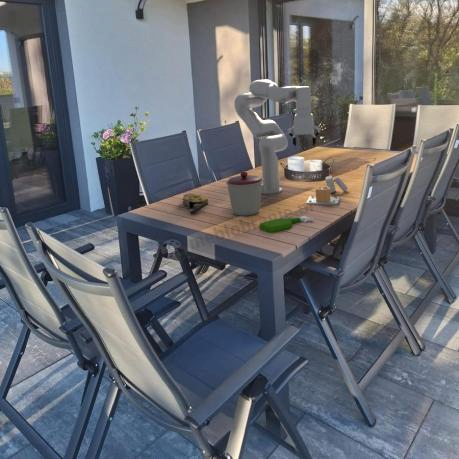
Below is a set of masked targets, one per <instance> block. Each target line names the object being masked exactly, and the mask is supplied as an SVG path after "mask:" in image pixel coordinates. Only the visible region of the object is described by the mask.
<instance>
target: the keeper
mask: <svg viewBox="0 0 459 459" xmlns="http://www.w3.org/2000/svg"><path fill="white" fill-rule="evenodd" d="M320 189H326V188H320ZM340 200H341V196H330V200H329V201H317V200H316V195H315V196H313V195H312V196H311V195H310V196H309V197H308V198H307V200H306V202H305V205H322V206H323V205H325V206H326V205H327V206H328V205H329V206H330V205H332V206H337V205H339V202H340Z"/></svg>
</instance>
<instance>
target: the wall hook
mask: <svg viewBox="0 0 459 459" xmlns="http://www.w3.org/2000/svg"><path fill="white" fill-rule="evenodd" d="M325 183H326V187H330V194H333V193H336V186H335V183H336V184H337V185H338V186H339V188H340V189H341V191H342V192H344V193H345V192H346V191H347V190H349V188H348V186H347V185H346V184H345V182H343V180H342V179H341V178H340V177H339V176H335V178H333V175H328V176H326V177H325Z"/></svg>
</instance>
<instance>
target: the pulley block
mask: <svg viewBox="0 0 459 459" xmlns="http://www.w3.org/2000/svg"><path fill="white" fill-rule="evenodd" d="M182 200H183V201H182V204H183V205H184V206H186V207H188V209H189V213H190V214H195V213H196V214H197V213H198V211H200V210H201V209H203V208H205V207H206V206H208V205H209V198H208V197H207V196H206V195H202V194H194V193H193V194H191V193H187V194H184V195H183V197H182Z"/></svg>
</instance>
